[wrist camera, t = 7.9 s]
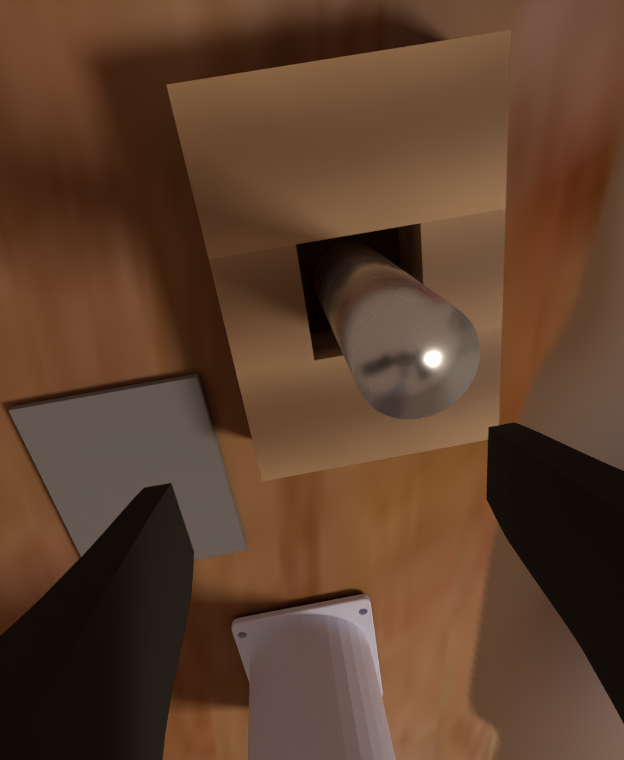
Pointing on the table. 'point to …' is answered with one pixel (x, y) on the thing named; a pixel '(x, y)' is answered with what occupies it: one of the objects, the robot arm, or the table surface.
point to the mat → (133, 459)
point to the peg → (395, 333)
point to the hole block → (350, 227)
